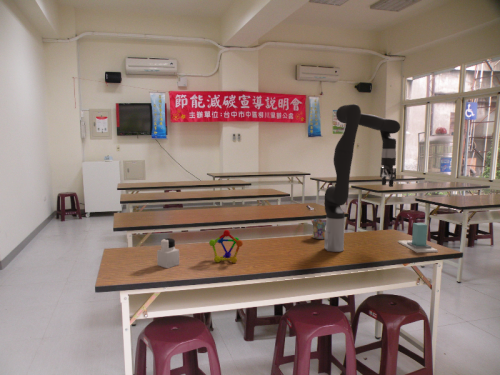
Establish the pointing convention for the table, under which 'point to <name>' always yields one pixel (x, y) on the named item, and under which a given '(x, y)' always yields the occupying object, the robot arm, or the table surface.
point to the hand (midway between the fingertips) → (387, 185)
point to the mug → (318, 228)
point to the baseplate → (417, 248)
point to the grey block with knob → (168, 254)
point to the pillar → (419, 234)
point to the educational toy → (227, 254)
